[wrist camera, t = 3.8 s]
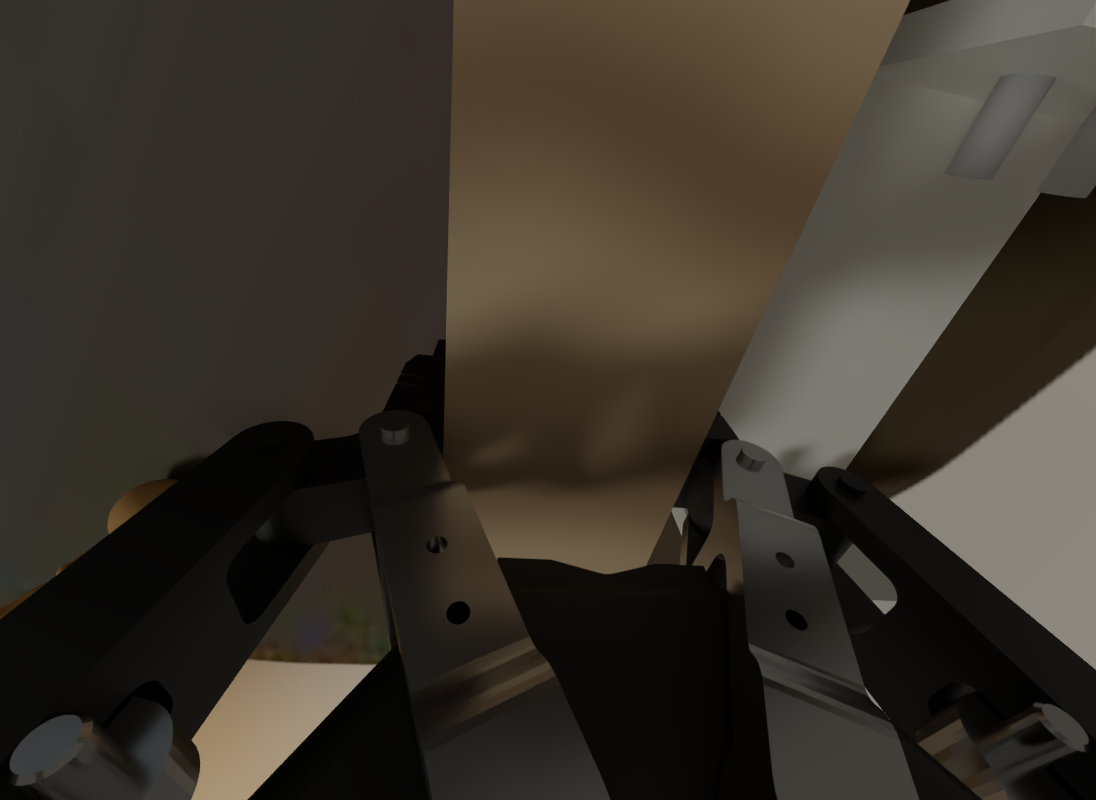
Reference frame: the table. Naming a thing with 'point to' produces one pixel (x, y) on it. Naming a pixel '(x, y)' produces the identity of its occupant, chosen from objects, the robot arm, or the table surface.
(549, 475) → the shelf board
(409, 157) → the table surface
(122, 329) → the table surface
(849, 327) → the shelf frame
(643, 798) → the robot arm
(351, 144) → the table surface
